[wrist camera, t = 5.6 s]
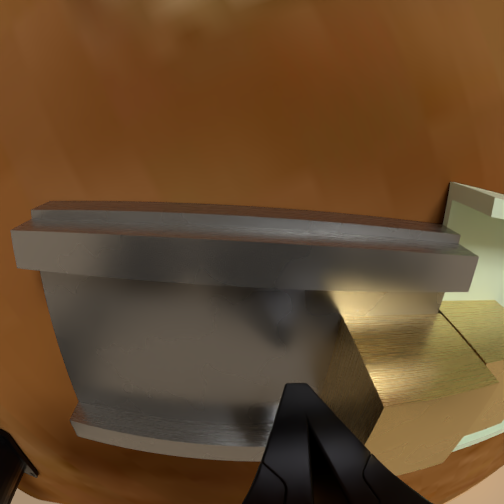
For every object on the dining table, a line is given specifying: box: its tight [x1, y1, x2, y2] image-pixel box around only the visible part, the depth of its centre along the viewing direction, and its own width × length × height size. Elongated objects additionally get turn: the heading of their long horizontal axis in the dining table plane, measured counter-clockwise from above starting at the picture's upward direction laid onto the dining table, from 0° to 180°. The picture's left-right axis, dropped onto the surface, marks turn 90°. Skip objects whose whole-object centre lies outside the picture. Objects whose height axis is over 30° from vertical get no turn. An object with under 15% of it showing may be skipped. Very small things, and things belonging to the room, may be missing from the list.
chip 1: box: [320, 313, 499, 476], centre depth 9 cm, size 4×4×4 cm
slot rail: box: [11, 201, 479, 461], centre depth 10 cm, size 10×14×2 cm
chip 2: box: [438, 300, 504, 436], centre depth 10 cm, size 4×4×4 cm
